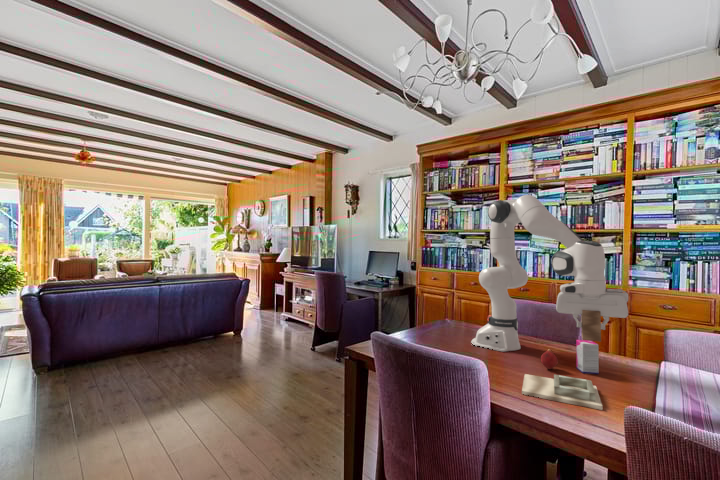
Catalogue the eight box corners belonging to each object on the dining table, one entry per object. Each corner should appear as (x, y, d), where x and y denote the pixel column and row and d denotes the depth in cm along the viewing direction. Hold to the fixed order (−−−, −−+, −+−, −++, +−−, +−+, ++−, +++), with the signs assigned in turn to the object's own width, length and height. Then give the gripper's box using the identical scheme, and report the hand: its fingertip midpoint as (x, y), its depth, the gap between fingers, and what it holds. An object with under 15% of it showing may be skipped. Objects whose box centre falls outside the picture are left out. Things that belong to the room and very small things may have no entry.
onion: (551, 373, 128) (551, 352, 128) (537, 368, 133) (537, 348, 133) (560, 370, 130) (560, 350, 131) (546, 365, 136) (546, 346, 136)
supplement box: (599, 374, 126) (598, 344, 126) (582, 373, 127) (581, 343, 127) (592, 368, 132) (591, 340, 132) (575, 367, 133) (575, 339, 133)
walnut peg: (583, 339, 112) (582, 310, 112) (581, 336, 116) (580, 307, 117) (601, 341, 110) (600, 311, 110) (598, 337, 114) (598, 308, 114)
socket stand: (521, 394, 111) (521, 383, 111) (524, 377, 124) (524, 367, 124) (602, 410, 100) (602, 397, 100) (596, 389, 113) (595, 378, 113)
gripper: (626, 288, 111) (626, 329, 111) (555, 285, 121) (556, 323, 121) (630, 290, 105) (631, 334, 105) (556, 287, 115) (556, 327, 115)
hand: (590, 328), depth 113 cm, fingers closed on walnut peg, 5 cm apart
